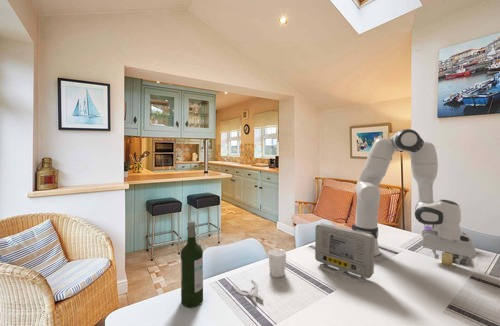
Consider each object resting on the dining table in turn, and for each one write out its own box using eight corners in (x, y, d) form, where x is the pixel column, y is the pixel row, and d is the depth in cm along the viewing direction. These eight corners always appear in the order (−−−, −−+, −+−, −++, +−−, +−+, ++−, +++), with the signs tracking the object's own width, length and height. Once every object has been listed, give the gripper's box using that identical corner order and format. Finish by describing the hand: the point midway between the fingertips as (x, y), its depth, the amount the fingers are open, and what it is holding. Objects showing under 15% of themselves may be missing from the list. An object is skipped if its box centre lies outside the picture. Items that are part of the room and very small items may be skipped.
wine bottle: (186, 294, 92) (185, 218, 90) (205, 295, 91) (205, 218, 89) (177, 307, 84) (176, 224, 82) (199, 309, 83) (198, 225, 81)
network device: (375, 278, 103) (376, 233, 102) (368, 286, 97) (370, 238, 96) (320, 259, 121) (321, 221, 120) (312, 265, 114) (312, 225, 113)
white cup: (287, 271, 109) (288, 250, 108) (282, 279, 102) (283, 257, 101) (271, 268, 112) (272, 247, 112) (265, 275, 105) (266, 254, 105)
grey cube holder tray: (444, 260, 121) (444, 254, 120) (444, 247, 136) (445, 242, 136) (465, 264, 115) (465, 258, 115) (463, 251, 131) (463, 246, 131)
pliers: (253, 277, 101) (271, 297, 88) (253, 281, 101) (271, 301, 88) (231, 283, 97) (247, 304, 83) (231, 287, 97) (247, 309, 83)
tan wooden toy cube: (441, 264, 116) (441, 254, 116) (441, 261, 119) (442, 252, 119) (452, 267, 113) (452, 257, 113) (452, 264, 116) (452, 254, 116)
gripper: (421, 230, 120) (420, 256, 120) (476, 240, 106) (475, 269, 107) (422, 227, 125) (421, 252, 125) (475, 236, 111) (474, 264, 112)
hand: (446, 260), depth 116 cm, fingers open, 6 cm apart
